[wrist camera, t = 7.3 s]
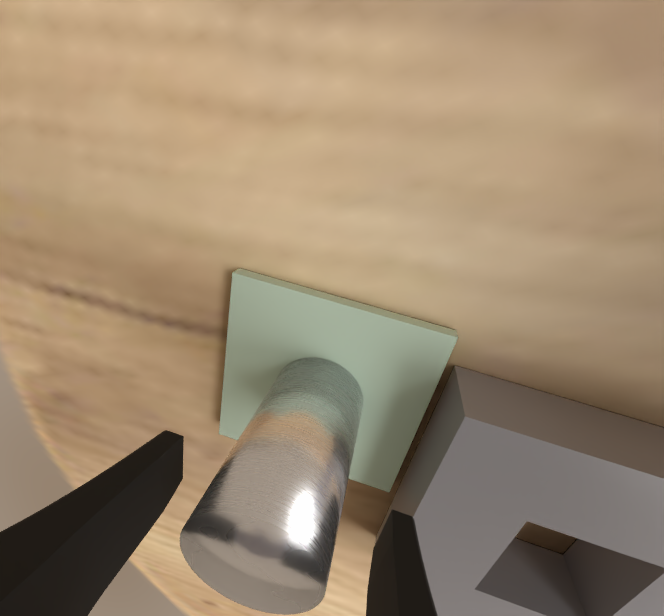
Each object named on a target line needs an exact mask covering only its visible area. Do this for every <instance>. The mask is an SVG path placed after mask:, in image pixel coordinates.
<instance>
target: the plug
mask: <svg viewBox="0 0 664 616" xmlns="http://www.w3.org/2000/svg"><path fill="white" fill-rule="evenodd" d="M362 409H363V394H362V390H361V388H360V385H359V384H358V382H357V380H356V379H355V378H354V376H353V375H352V374H351V373H350V372H349V371H347V370H346V369H345V368H344V367H342V366H340V365H339V364H337V363H335V362H333V361H330V360H327V359H323V358H317V357H307V358H301V359H297V360H295V361H292V362H291V363H289V364H288V365H286V366H285V367H284V368H283V369H282V370H281V372H280V373H279V375H278V377H277V378H276V380H275V381H274V383H273V385H272V386H271V388H270V389H269V391H268V393H267V394H266V396H265V397H264V399H263V401H262V402H261V404H260V405H259V407H258V409H257V410H256V412H255V413H254V415H253V417H252V418H251V420H250V421H249V423H248V425H247V426H246V428H245V429H244V431H243V433H242V434H241V436H240V437H239V439H238V441H237V442H236V444H235V445H234V447H233V449H232V450H231V452H230V454H229V455H228V457H227V458H226V460H225V462H224V463H223V465H222V466H221V468H220V470H219V471H218V473H217V474H216V476H215V478H214V479H213V481H212V482H211V484H210V486H209V487H208V489H207V490H206V492H205V494H204V495H203V497H202V498H201V500H200V502H199V503H198V505H197V506H196V508H195V510H194V511H193V513H192V514H191V516H190V518H189V519H188V521H187V523H186V524H185V526H184V527H183V529H182V531H181V534H180V547H181V550H182V553H183V556H184V558H185V560H186V561H187V563H188V565H189V566H190V567H191V569H192V570H193V571H194V572H195V573H196V574H197V575H198V576H199V577H200V578H201V579H202V580H203V581H204V582H205V583H206V584H207V585H209V586H210V587H211V588H213V589H214V590H216V591H217V592H218V593H220V594H222V595H223V596H225V597H227V598H229V599H231V600H232V601H234V602H237V603H239V604H241V605H244V606H246V607H249V608H252V609H255V610H259V611H263V612H267V613H273V614H298V613H303V612H306V611H309V610H311V609H313V608H314V607H316V606H317V605H318V604H319V603H320V602H321V601H322V599H323V597H324V595H325V591H326V587H327V582H328V577H329V572H330V567H331V562H332V557H333V552H334V547H335V542H336V537H337V532H338V527H339V522H340V517H341V512H342V508H343V503H344V498H345V493H346V488H347V483H348V478H349V473H350V468H351V463H352V458H353V453H354V448H355V443H356V438H357V433H358V428H359V424H360V419H361V414H362Z"/></svg>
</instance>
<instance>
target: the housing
mask: <svg viewBox="0 0 664 616" xmlns="http://www.w3.org/2000/svg"><path fill="white" fill-rule="evenodd" d="M392 509H393V510H396V511H398V512H401V513H404V514H407V515H410V516H412V517H413V518H414V520H415V526H416V531H417V536H418V541H419V546H420V550H421V554H422V559H423V563H424V567H425V571H426V575H427V579H428V583H429V587H430V591H431V594H432V598H433V601H434V605H435V608H436V612H437V615H438V616H664V428H663V427H660V426H656V425H653V424H650V423H646V422H643V421H639V420H636V419H633V418H629V417H626V416H623V415H619V414H616V413H613V412H609V411H606V410H603V409H599V408H596V407H593V406H589V405H586V404H582V403H579V402H576V401H572V400H569V399H566V398H562V397H559V396H556V395H552V394H549V393H546V392H542V391H539V390H536V389H532V388H529V387H525V386H522V385H519V384H515V383H512V382H509V381H505V380H502V379H499V378H495V377H492V376H489V375H485V374H482V373H479V372H475V371H472V370H468V369H465V368H462V367H458V366H454V368H453V370H452V373H451V375H450V377H449V379H448V381H447V384H446V386H445V388H444V390H443V392H442V394H441V397H440V399H439V401H438V403H437V405H436V407H435V410H434V412H433V414H432V416H431V418H430V421H429V423H428V425H427V427H426V429H425V431H424V434H423V436H422V438H421V440H420V442H419V445H418V447H417V449H416V451H415V453H414V455H413V458H412V460H411V462H410V464H409V466H408V468H407V471H406V473H405V475H404V477H403V479H402V482H401V484H400V486H399V488H398V490H397V492H396V495H395V497H394V499H393V501H392V503H391V506H390V508H389V510H388V512H387V514H386V516H385V519H384V521H383V523H382V525H381V527H380V529H379V532H378V534H377V536H376V542H377V540H378V538H379V536H380V534H381V532H382V529H383V527H384V525H385V523H386V521H387V519H388V517H389V514H390V512H391V510H392ZM526 522H530V523H533V524H536V525H539V526H542V527H545V528H548V529H551V530H554V531H557V532H560V533H563V534H566V535H569V536H572V537H575V538H578V539H577V540H576V541H575V542H574V543H573V544H572V546H571V547H570V548H569V549H568V550H567V551H566V552H565V553H564V554H563V555H562V554H559V553H556V552H553V551H550V550H548V549H545V548H542V547H539V546H536V545H533V544H530V543H527V542H524V541H522V540H519V539H516V538H514V537H515V536H516V535H517V534H518V532H519V531H520V530H521V528H522V527H523V526H524V525H525V523H526ZM376 542H375V544H376Z"/></svg>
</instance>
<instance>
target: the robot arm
mask: <svg viewBox="0 0 664 616" xmlns="http://www.w3.org/2000/svg"><path fill="white" fill-rule="evenodd" d="M182 479H183V436H181V435H178V434H175V433H173V432H170V431H167V430H166V431H163V432H162V433H160V434H159V435H157V436H156V437H155V438H153V439H152V440H150V441H149V442H147V443H146V444H144V445H143V446H141V447H140V448H139V449H137V450H136V451H134V452H133V453H131V454H130V455H128V456H127V457H125V458H124V459H122V460H121V461H119V462H118V463H116V464H115V465H113V466H112V467H110V468H109V469H107V470H105V471H104V472H102V473H101V474H99V475H98V476H96V477H95V478H93V479H92V480H90V481H88V482H87V483H85V484H84V485H82V486H80V487H79V488H77V489H75V490H74V491H72V492H70V493H69V494H67V495H65V496H64V497H62V498H60V499H59V500H57V501H55V502H54V503H52V504H50V505H49V506H47V507H45V508H44V509H42V510H40V511H38V512H36V513H35V514H33V515H31V516H29V517H27V518H26V519H24V520H22V521H20V522H18V523H17V524H15V525H13V526H11V527H9V528H7V529H5V530H3V531H1V532H0V616H88V614H89V613H90V611H91V610H92V608H93V607H94V605H95V604H96V602H97V601H98V599H99V598H100V596H101V595H102V594H103V592H104V591H105V589H106V588H107V587H108V585H109V584H110V583H111V581H112V580H113V579H114V577H115V576H116V575H117V573H118V572H119V571H120V569H121V568H122V566H123V565H124V564H125V562H126V561H127V560H128V558H129V557H130V556H131V554H132V553H133V552H134V550H135V549H136V548H137V546H138V545H139V544H140V542H141V541H142V540H143V538H144V537H145V536H146V534H147V533H148V531H149V530H150V529H151V527H152V526H153V525H154V523H155V522H156V521H157V519H158V518H159V516H160V515H161V514H162V512H163V511H164V509H165V507H166V506H167V504H168V503H169V501H170V499H171V498H172V496H173V494H174V493H175V491H176V489H177V487H178V486H179V484H180V482H181V481H182ZM366 616H438V615H437V612H436V608H435V605H434V601H433V598H432V594H431V591H430V587H429V583H428V579H427V575H426V571H425V567H424V563H423V559H422V554H421V550H420V546H419V541H418V536H417V531H416V526H415V520H414V518H413V517H412V516H410V515H407V514H404V513H401V512H398V511H396V510H393V509H392V510H391V512H390V514H389V517H388V519H387V521H386V523H385V525H384V527H383V529H382V532H381V534H380V536H379V538H378V540H377V542H376V544H375V547H374V550H373V556H372V563H371V569H370V577H369V584H368V593H367V609H366Z"/></svg>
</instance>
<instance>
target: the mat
mask: <svg viewBox="0 0 664 616" xmlns="http://www.w3.org/2000/svg"><path fill="white" fill-rule="evenodd" d="M457 339H458V335H457V332H456V330H453V329H450V328H446V327H443V326H439V325H436V324H432V323H429V322H425V321H422V320H418V319H415V318H411V317H408V316H404V315H401V314H397V313H394V312H390V311H387V310H384V309H380V308H377V307H373V306H370V305H366V304H363V303H359V302H356V301H352V300H349V299H345V298H342V297H338V296H335V295H331V294H328V293H324V292H321V291H317V290H314V289H310V288H307V287H303V286H300V285H296V284H293V283H290V282H286V281H283V280H279V279H276V278H272V277H269V276H265V275H262V274H258V273H255V272H251V271H248V270H244V269H241V268H239V269H237V270H236V271H234V272H232V284H231V296H230V308H229V319H228V331H227V343H226V355H225V367H224V379H223V391H222V403H221V415H220V427H219V434H221V435H224V436H227V437H230V438H232V439H235V440H238V439H239V437H240V436H241V434H242V433H243V431H244V429H245V428H246V426H247V425H248V423H249V421H250V420H251V418H252V417H253V415H254V413H255V412H256V410H257V409H258V407H259V405H260V404H261V402H262V401H263V399H264V397H265V396H266V394H267V393H268V391H269V389H270V388H271V386H272V385H273V383H274V381H275V380H276V378H277V377H278V375H279V373H280V372H281V370H282V369H283V368H284V367H285V366H286V365H288V364H289V363H291V362H292V361H295V360H297V359H301V358H307V357H317V358H323V359H327V360H330V361H333V362H335V363H337V364H339V365H340V366H342V367H344V368H345V369H346V370H347V371H349V372H350V373H351V374H352V375H353V376H354V378H355V379H356V380H357V382H358V384H359V385H360V388H361V390H362V394H363V409H362V414H361V419H360V424H359V428H358V433H357V438H356V443H355V448H354V453H353V458H352V463H351V468H350V473H349V478H348V479H351V480H354V481H357V482H360V483H363V484H366V485H369V486H372V487H375V488H377V489H380V490H383V491H386V492H390V490H391V488H392V485H393V483H394V481H395V479H396V476H397V474H398V472H399V470H400V467H401V465H402V463H403V461H404V458H405V456H406V454H407V452H408V449H409V447H410V445H411V443H412V440H413V438H414V436H415V434H416V431H417V429H418V427H419V425H420V422H421V420H422V418H423V416H424V413H425V411H426V409H427V407H428V404H429V402H430V400H431V398H432V395H433V393H434V391H435V389H436V386H437V384H438V382H439V380H440V377H441V375H442V373H443V371H444V368H445V366H446V364H447V362H448V359H449V357H450V355H451V353H452V350H453V348H454V346H455V344H456V341H457Z"/></svg>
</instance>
